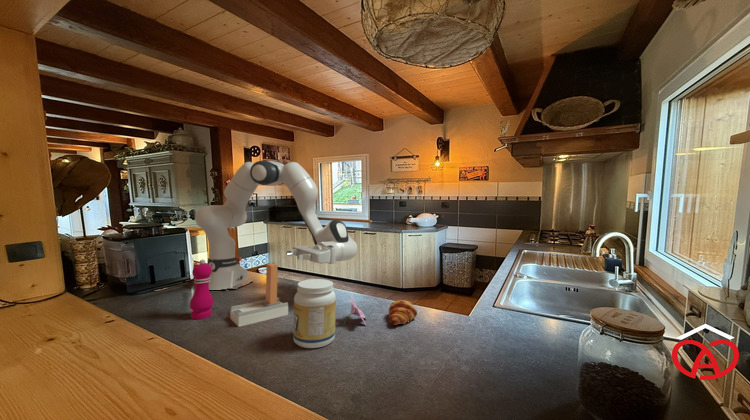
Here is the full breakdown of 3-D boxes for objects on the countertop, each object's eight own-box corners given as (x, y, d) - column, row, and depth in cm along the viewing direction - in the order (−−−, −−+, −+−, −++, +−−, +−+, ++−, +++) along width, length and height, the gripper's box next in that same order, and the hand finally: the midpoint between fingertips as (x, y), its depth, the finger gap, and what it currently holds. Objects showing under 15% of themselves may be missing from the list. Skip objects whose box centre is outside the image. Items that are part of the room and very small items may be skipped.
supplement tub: (290, 334, 89) (291, 279, 89) (329, 328, 94) (330, 276, 94) (296, 353, 78) (297, 290, 78) (339, 345, 83) (341, 286, 82)
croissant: (402, 316, 116) (394, 297, 117) (425, 307, 113) (416, 288, 114) (385, 337, 96) (376, 313, 97) (412, 327, 93) (402, 303, 94)
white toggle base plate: (277, 307, 112) (277, 297, 112) (288, 314, 105) (288, 303, 105) (230, 318, 100) (230, 306, 100) (238, 326, 94) (238, 314, 94)
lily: (356, 337, 91) (371, 309, 92) (327, 316, 95) (341, 290, 96) (366, 333, 102) (379, 308, 103) (339, 315, 106) (352, 292, 107)
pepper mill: (194, 321, 97) (195, 262, 97) (185, 316, 101) (186, 259, 101) (217, 315, 103) (217, 259, 102) (207, 311, 107) (208, 257, 107)
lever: (273, 301, 109) (274, 262, 109) (280, 305, 105) (280, 265, 104) (262, 303, 106) (263, 263, 106) (269, 308, 102) (269, 266, 102)
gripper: (311, 241, 128) (281, 243, 118) (337, 248, 113) (305, 250, 103) (310, 255, 128) (280, 258, 119) (336, 264, 113) (304, 268, 103)
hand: (292, 255), depth 111 cm, fingers open, 8 cm apart
